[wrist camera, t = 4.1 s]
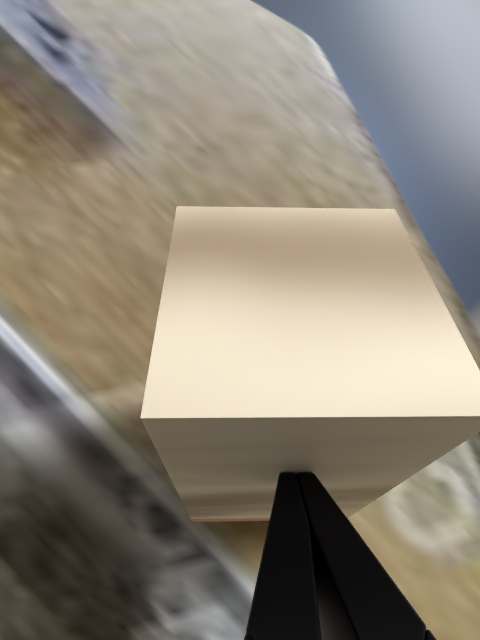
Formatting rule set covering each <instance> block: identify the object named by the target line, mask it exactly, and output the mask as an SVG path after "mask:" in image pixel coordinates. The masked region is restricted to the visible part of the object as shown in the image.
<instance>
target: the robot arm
mask: <svg viewBox="0 0 480 640" xmlns="http://www.w3.org/2000/svg"><path fill="white" fill-rule="evenodd" d="M244 640H436V638H435V637H434V636H433V634H432V633H431V631H430V630H426V625H425V624H424V622H423V621H422V619H421V618H420V617H419V615H418V614H417V613H416V611H415V610H414V609H413V607H412V606H411V604H410V603H409V602H408V600H407V599H406V598H405V596H404V595H403V594H402V592H401V591H400V589H399V588H398V587H397V585H396V584H395V583H394V581H393V580H392V579H391V577H390V576H389V574H388V573H387V572H386V570H385V569H384V568H383V566H382V565H381V564H380V562H379V561H378V559H377V558H376V557H375V555H374V554H373V553H372V551H371V550H370V549H369V547H368V546H367V544H366V543H365V542H364V540H363V539H362V538H361V536H360V535H359V534H358V532H357V531H356V529H355V528H354V527H353V525H352V524H351V523H350V521H349V520H348V519H347V517H346V516H345V515H344V513H343V512H342V510H341V509H340V508H339V506H338V505H337V504H336V502H335V501H334V500H333V498H332V497H331V495H330V494H329V493H328V491H327V490H326V489H325V487H324V486H323V485H322V483H321V482H320V480H319V479H318V478H317V476H316V475H315V474H314V473H312V472H298V473H297V474H296V473H294V472H281V473H280V474H279V477H278V482H277V486H276V491H275V496H274V501H273V505H272V510H271V515H270V520H269V525H268V529H267V534H266V539H265V544H264V548H263V553H262V558H261V563H260V567H259V572H258V577H257V582H256V586H255V591H254V596H253V601H252V606H251V610H250V615H249V620H248V625H247V629H246V635H245V638H244Z"/></svg>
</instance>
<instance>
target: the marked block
mask: <svg viewBox="0 0 480 640" xmlns="http://www.w3.org/2000/svg"><path fill="white" fill-rule="evenodd" d="M140 419H141V421H142V423H143V425H144V427H145V429H146V431H147V433H148V435H149V437H150V439H151V441H152V443H153V445H154V447H155V449H156V451H157V453H158V455H159V457H160V459H161V461H162V463H163V465H164V467H165V469H166V471H167V473H168V475H169V477H170V479H171V481H172V483H173V485H174V487H175V489H176V491H177V493H178V495H179V497H180V499H181V501H182V503H183V505H184V507H185V509H186V511H187V513H188V515H189V517H190V519H191V521H192V522H225V521H269V520H270V515H271V510H272V505H273V501H274V496H275V491H276V486H277V482H278V477H279V474H280V473H281V472H294V473H296V474H297V473H298V472H312V473H314V474H315V475H316V476H317V478H318V479H319V480H320V482H321V483H322V485H323V486H324V487H325V489H326V490H327V491H328V493H329V494H330V495H331V497H332V498H333V500H334V501H335V502H336V504H337V505H338V506H339V508H340V509H341V510H342V512H343V513H344V515H345V516H346V517H347V518H348V517H350V516H351V515H353V514H354V513H356V512H357V511H359V510H360V509H362V508H363V507H365V506H366V505H368V504H369V503H371V502H372V501H374V500H376V499H377V498H379V497H380V496H382V495H383V494H385V493H386V492H388V491H389V490H391V489H392V488H394V487H395V486H397V485H399V484H400V483H402V482H403V481H405V480H406V479H408V478H409V477H411V476H412V475H414V474H415V473H417V472H418V471H420V470H421V469H423V468H425V467H426V466H428V465H429V464H431V463H432V462H434V461H435V460H437V459H438V458H440V457H441V456H443V455H444V454H446V453H447V452H449V451H451V450H452V449H454V448H455V447H457V446H458V445H460V444H461V443H463V442H464V441H466V440H467V439H469V438H470V437H472V436H474V435H475V434H477V433H478V432H480V370H479V369H478V367H477V365H476V363H475V361H474V359H473V357H472V355H471V353H470V351H469V349H468V348H467V346H466V344H465V342H464V340H463V338H462V336H461V334H460V332H459V330H458V329H457V327H456V325H455V323H454V321H453V319H452V317H451V315H450V313H449V311H448V310H447V308H446V306H445V304H444V302H443V300H442V298H441V296H440V294H439V292H438V291H437V289H436V287H435V285H434V283H433V281H432V279H431V277H430V275H429V273H428V272H427V270H426V268H425V266H424V264H423V262H422V260H421V258H420V256H419V254H418V253H417V251H416V249H415V247H414V245H413V243H412V241H411V239H410V237H409V235H408V234H407V232H406V230H405V228H404V226H403V224H402V222H401V220H400V218H399V216H398V214H397V213H396V211H395V209H343V208H264V207H186V206H177V209H176V215H175V221H174V227H173V232H172V238H171V244H170V250H169V255H168V261H167V267H166V273H165V279H164V284H163V290H162V296H161V302H160V307H159V313H158V319H157V325H156V330H155V336H154V342H153V348H152V354H151V359H150V365H149V371H148V377H147V382H146V388H145V394H144V400H143V406H142V411H141V417H140Z"/></svg>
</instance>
